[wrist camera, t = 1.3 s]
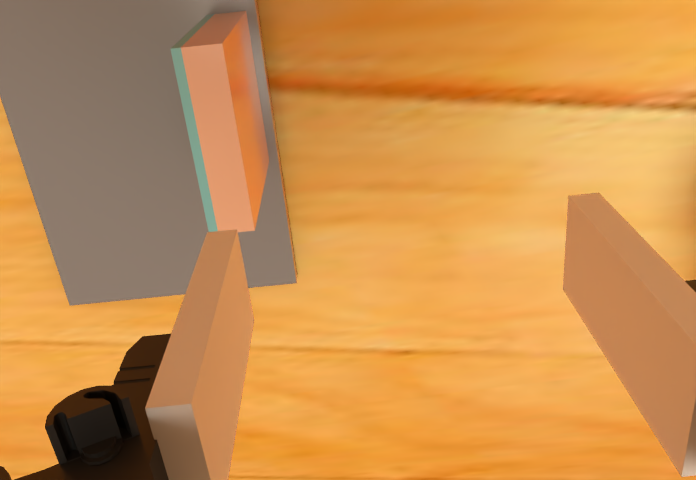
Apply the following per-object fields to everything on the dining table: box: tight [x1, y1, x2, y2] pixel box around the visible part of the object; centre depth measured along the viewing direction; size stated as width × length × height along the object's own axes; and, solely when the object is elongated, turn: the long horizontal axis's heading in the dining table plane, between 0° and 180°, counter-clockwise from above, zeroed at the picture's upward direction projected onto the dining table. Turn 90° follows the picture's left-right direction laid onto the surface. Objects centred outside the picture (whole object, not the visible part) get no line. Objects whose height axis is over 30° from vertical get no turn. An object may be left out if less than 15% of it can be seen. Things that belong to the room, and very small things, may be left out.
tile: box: [171, 11, 269, 232], centre depth 31 cm, size 8×2×9 cm, turn 5°
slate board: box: [0, 0, 297, 305], centre depth 36 cm, size 24×14×1 cm, turn 5°
